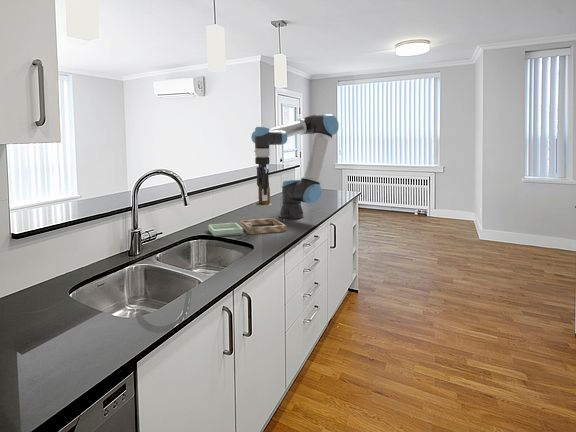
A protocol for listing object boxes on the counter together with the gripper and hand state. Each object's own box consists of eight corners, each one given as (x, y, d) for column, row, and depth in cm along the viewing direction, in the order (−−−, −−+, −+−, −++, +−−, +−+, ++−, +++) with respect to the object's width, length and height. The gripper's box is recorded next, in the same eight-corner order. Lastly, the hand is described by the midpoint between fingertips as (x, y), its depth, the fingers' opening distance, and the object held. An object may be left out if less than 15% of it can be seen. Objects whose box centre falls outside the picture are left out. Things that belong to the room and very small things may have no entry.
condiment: (273, 204, 218) (272, 182, 216) (259, 206, 214) (259, 183, 211) (266, 202, 224) (265, 180, 222) (252, 204, 220) (252, 182, 217)
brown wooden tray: (273, 223, 234) (273, 218, 234) (286, 230, 216) (286, 225, 215) (240, 225, 227) (240, 220, 227) (250, 233, 209) (249, 228, 208)
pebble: (249, 226, 226) (249, 222, 226) (252, 227, 224) (252, 223, 224) (244, 227, 224) (244, 223, 224) (247, 228, 222) (247, 223, 222)
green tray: (236, 228, 222) (235, 222, 221) (243, 234, 208) (243, 228, 208) (208, 230, 216) (208, 224, 216) (214, 236, 203) (213, 230, 202)
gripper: (250, 155, 221) (251, 197, 226) (260, 157, 204) (261, 203, 209) (263, 155, 224) (264, 196, 229) (275, 157, 207) (275, 202, 211)
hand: (262, 199), depth 219 cm, fingers closed on condiment, 6 cm apart
